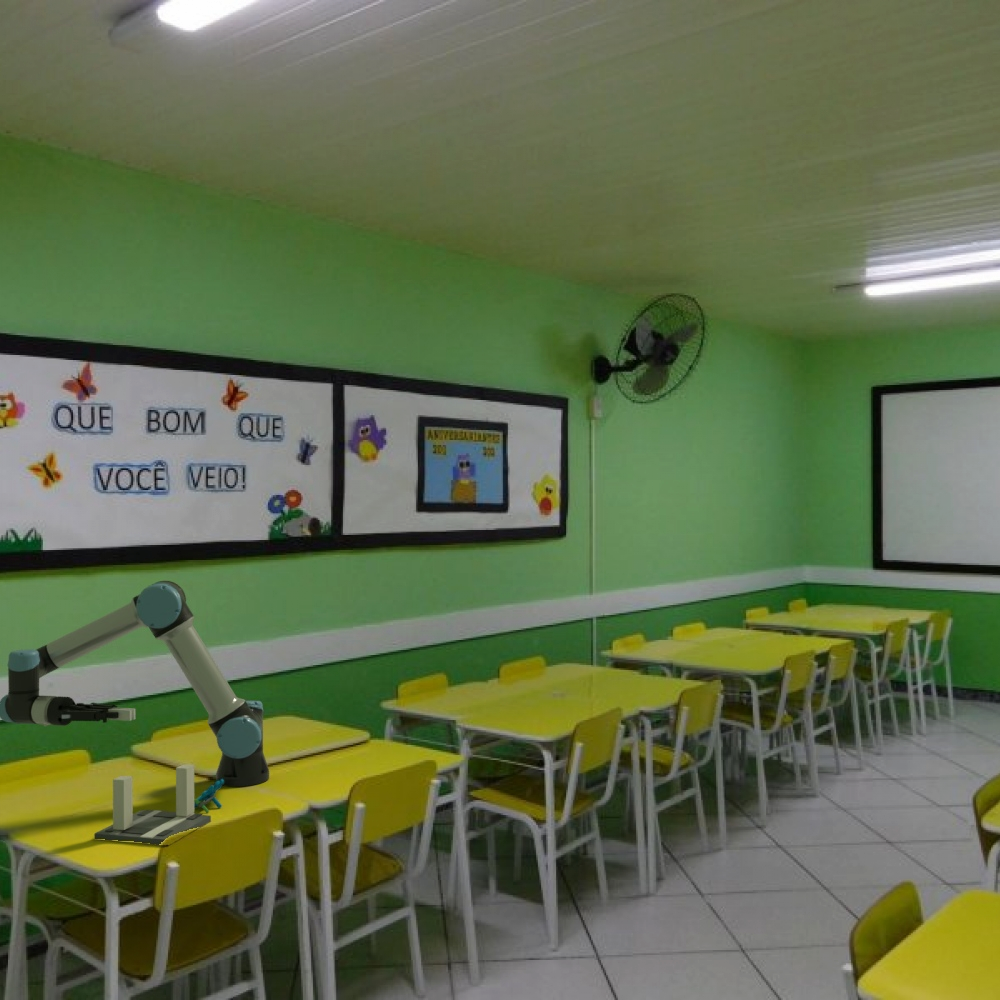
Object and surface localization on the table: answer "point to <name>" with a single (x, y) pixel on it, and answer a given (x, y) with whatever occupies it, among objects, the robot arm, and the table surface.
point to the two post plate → (162, 816)
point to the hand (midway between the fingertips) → (132, 714)
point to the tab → (122, 802)
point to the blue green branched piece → (209, 796)
